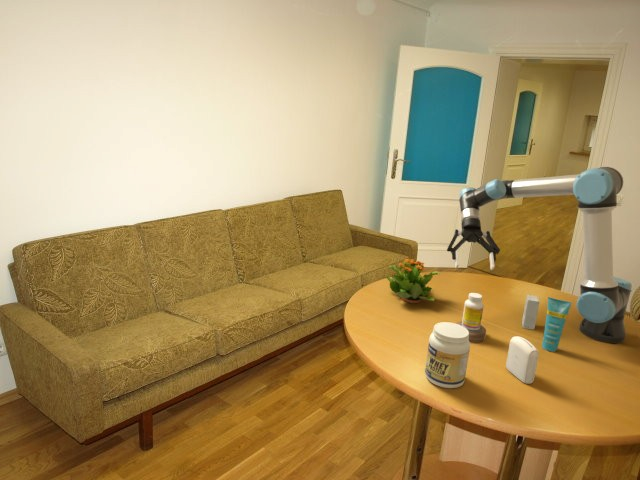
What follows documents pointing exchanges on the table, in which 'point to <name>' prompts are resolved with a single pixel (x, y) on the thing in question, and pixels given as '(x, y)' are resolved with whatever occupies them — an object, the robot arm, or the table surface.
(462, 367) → the supplement tub
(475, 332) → the walnut plinth
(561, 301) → the tube
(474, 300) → the supplement bottle
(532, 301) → the skincare box
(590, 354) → the table surface
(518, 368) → the photo printer
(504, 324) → the table surface
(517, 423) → the table surface
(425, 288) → the potted flower
